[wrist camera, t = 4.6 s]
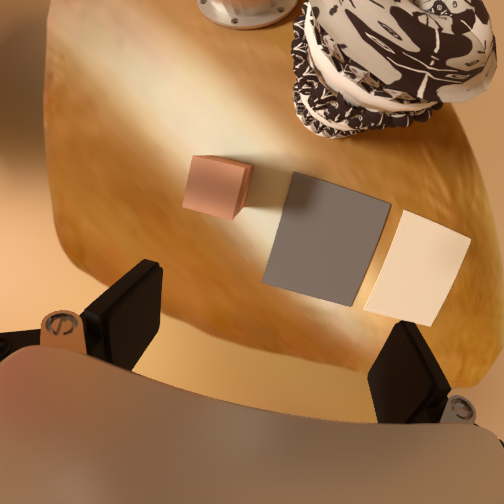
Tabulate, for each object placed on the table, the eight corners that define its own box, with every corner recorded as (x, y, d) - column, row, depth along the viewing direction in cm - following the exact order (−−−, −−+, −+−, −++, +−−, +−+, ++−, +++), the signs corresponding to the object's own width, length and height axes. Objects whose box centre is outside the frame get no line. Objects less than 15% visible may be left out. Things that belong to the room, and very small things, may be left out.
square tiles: (294, 171, 31) (294, 171, 31) (470, 238, 30) (471, 239, 30) (262, 282, 36) (261, 282, 35) (430, 325, 35) (430, 326, 35)
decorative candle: (385, 108, 27) (549, 51, 3) (331, 158, 30) (453, 174, 6) (329, 52, 25) (389, -102, 2) (273, 101, 28) (225, -34, 5)
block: (212, 155, 31) (192, 155, 25) (254, 165, 31) (245, 167, 25) (203, 196, 33) (182, 206, 26) (243, 206, 33) (231, 220, 26)
